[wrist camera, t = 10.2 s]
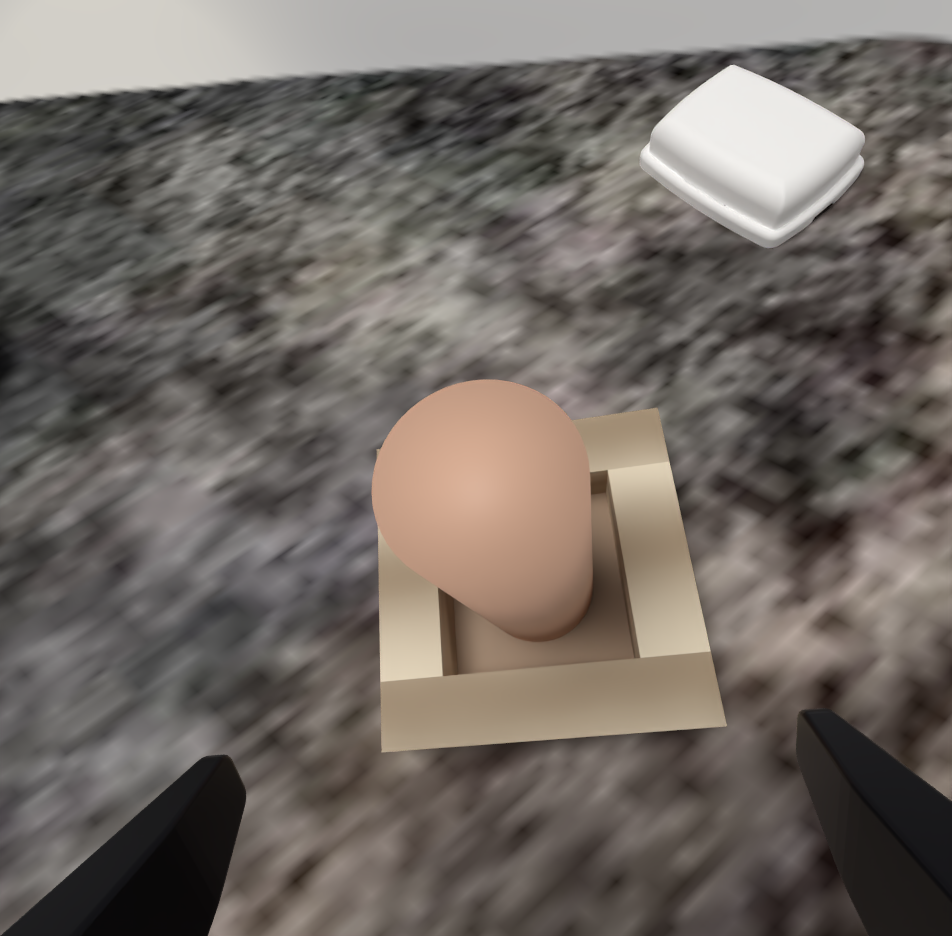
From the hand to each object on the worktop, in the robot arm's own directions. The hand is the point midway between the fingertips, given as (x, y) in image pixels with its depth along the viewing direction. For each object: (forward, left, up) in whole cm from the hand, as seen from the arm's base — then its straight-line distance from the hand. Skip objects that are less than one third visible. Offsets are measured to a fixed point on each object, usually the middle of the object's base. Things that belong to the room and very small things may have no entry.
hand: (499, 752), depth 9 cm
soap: (+26, +8, -14) cm, 31 cm away
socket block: (+4, +4, -14) cm, 14 cm away
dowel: (+4, +3, -13) cm, 14 cm away
